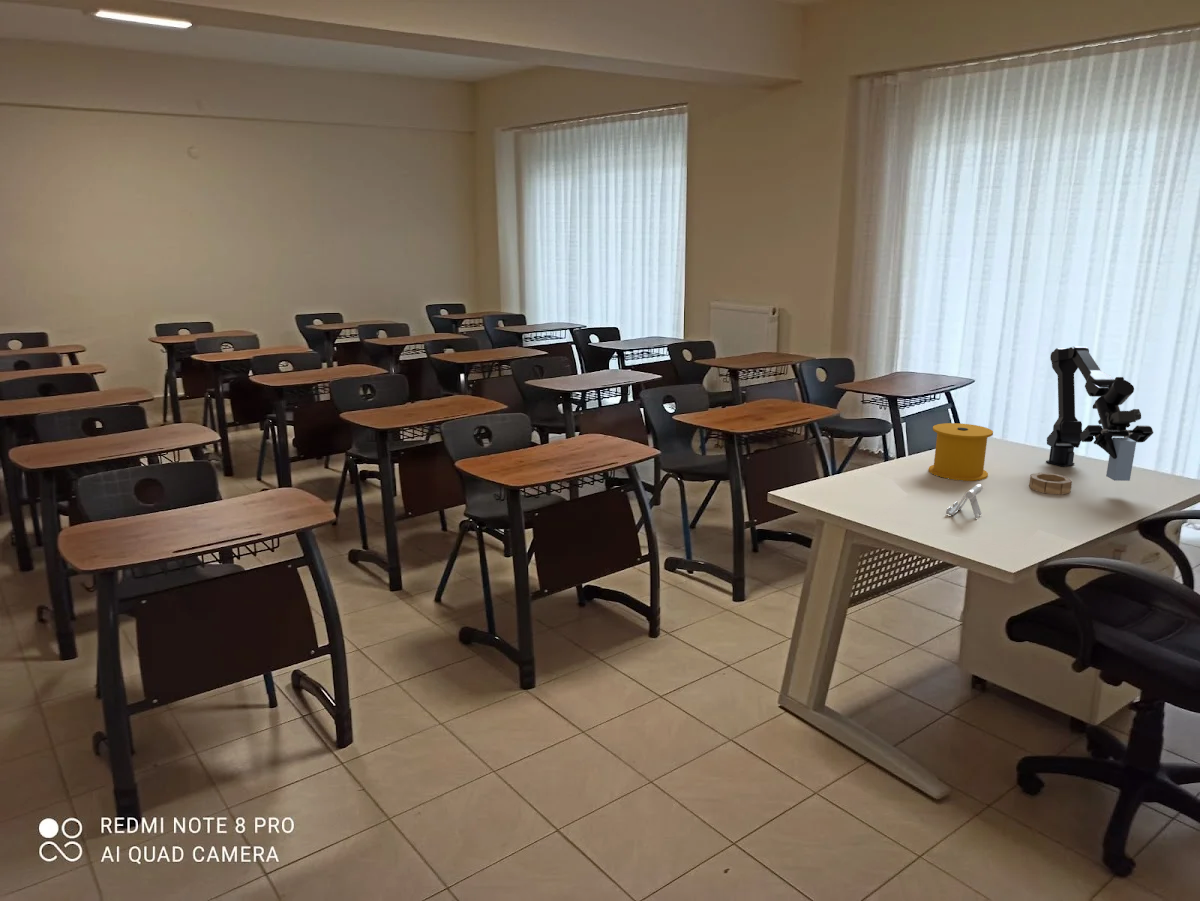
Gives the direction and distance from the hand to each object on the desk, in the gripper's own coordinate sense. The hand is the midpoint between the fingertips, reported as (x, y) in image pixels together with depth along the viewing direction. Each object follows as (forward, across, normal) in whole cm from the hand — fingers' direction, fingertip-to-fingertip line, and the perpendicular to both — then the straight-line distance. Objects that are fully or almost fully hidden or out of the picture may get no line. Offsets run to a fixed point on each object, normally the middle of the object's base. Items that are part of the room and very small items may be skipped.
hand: (1123, 458), depth 249 cm
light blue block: (+4, 0, +6) cm, 7 cm away
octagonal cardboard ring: (+4, -17, +13) cm, 22 cm away
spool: (-8, -39, +25) cm, 47 cm away
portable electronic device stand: (+22, -52, -5) cm, 56 cm away
